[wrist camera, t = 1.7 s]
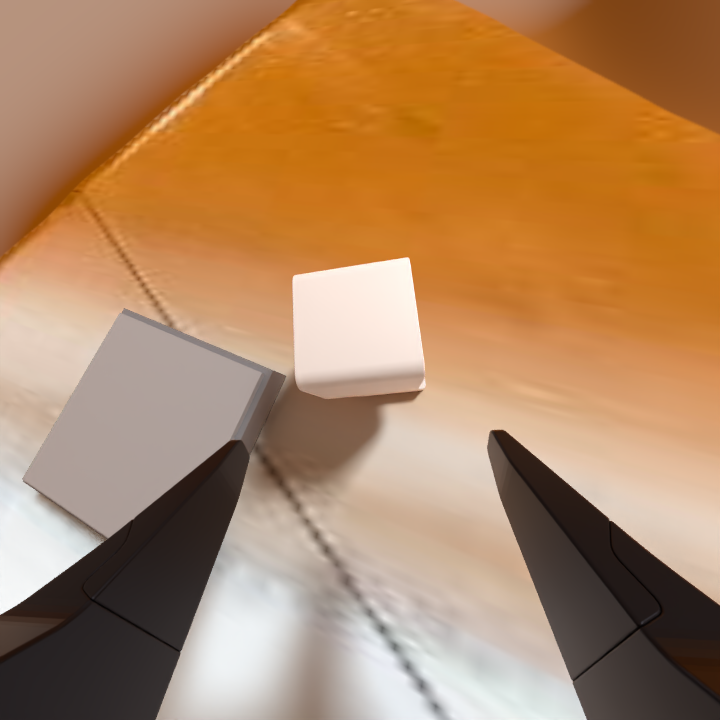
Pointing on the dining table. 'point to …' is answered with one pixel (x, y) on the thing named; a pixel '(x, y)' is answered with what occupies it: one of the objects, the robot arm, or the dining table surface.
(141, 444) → the grey square slab
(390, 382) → the security camera
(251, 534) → the dining table surface
